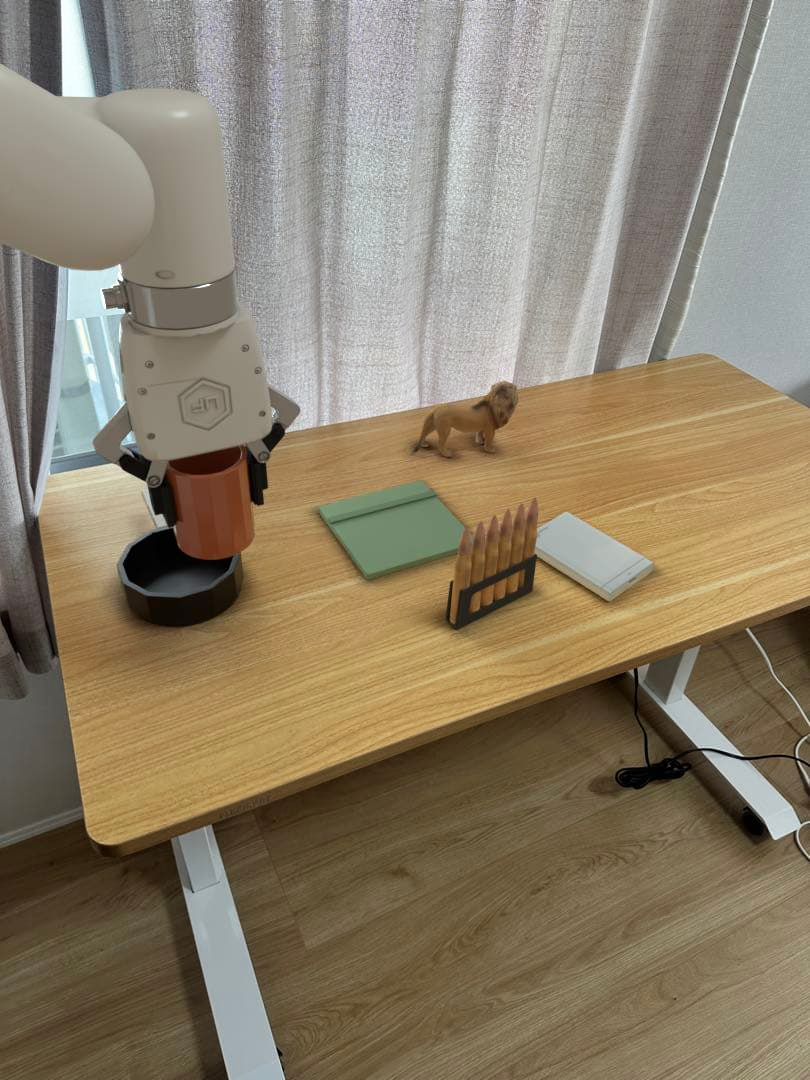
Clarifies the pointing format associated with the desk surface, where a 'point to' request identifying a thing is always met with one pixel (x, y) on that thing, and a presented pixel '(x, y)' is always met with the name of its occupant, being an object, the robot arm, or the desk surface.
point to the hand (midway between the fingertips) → (212, 505)
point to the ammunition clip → (493, 566)
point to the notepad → (394, 528)
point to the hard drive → (590, 556)
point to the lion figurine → (472, 418)
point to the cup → (212, 503)
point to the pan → (175, 579)
